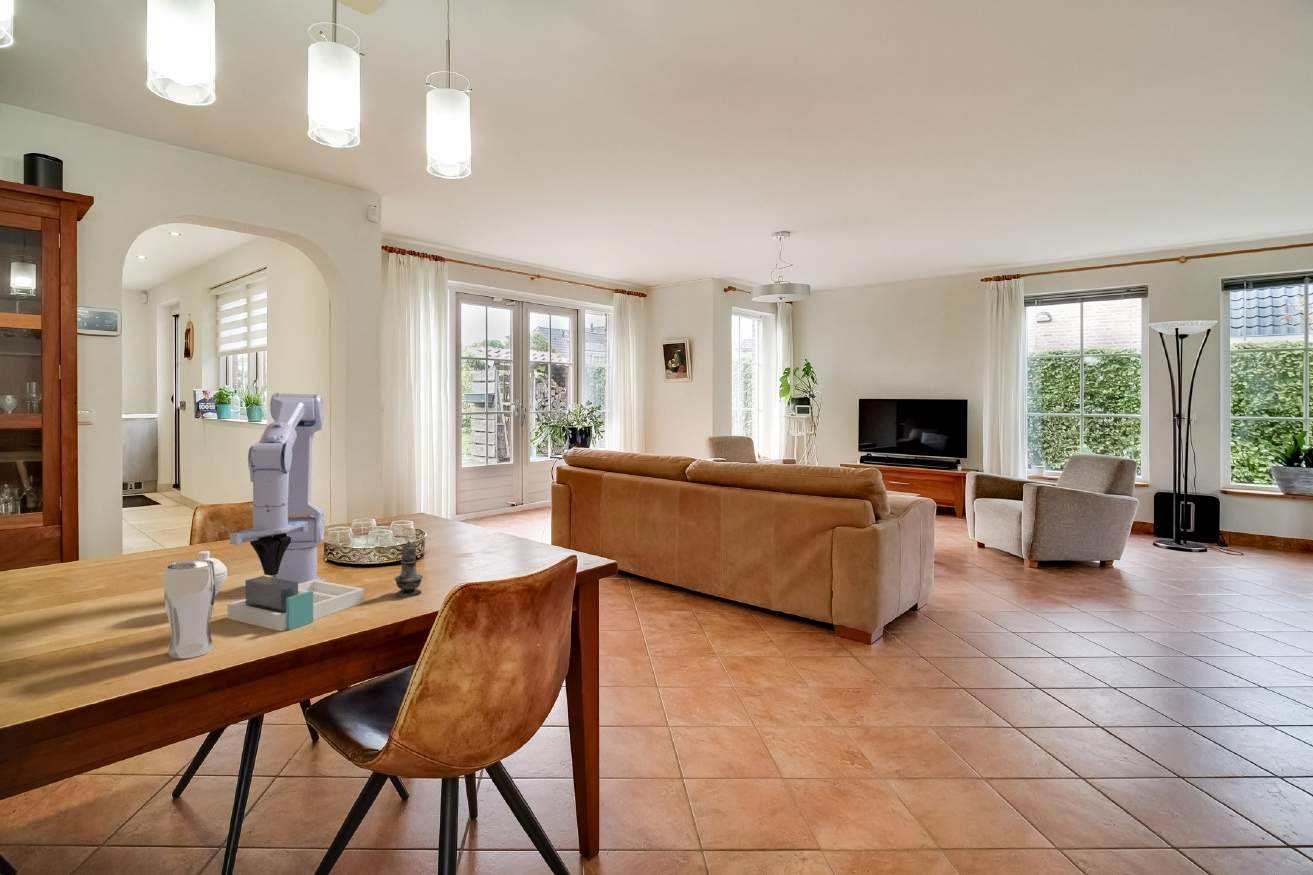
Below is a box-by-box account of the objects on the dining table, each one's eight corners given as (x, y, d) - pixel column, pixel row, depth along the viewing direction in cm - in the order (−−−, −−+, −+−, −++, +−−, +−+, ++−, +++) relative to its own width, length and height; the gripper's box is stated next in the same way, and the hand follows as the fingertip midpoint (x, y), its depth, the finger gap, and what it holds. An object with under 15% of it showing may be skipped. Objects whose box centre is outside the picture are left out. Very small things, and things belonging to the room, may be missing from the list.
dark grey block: (245, 615, 123) (245, 580, 122) (263, 610, 126) (262, 575, 126) (281, 623, 119) (281, 587, 119) (298, 617, 122) (298, 582, 122)
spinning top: (236, 607, 129) (236, 549, 128) (198, 619, 122) (198, 557, 121) (210, 602, 131) (209, 545, 131) (171, 613, 124) (170, 553, 123)
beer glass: (182, 644, 109) (181, 559, 109) (225, 643, 110) (224, 559, 109) (154, 660, 102) (153, 570, 102) (199, 660, 103) (198, 570, 102)
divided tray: (227, 618, 122) (227, 588, 122) (314, 592, 140) (314, 565, 139) (284, 632, 116) (284, 600, 116) (367, 602, 134) (367, 575, 133)
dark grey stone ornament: (412, 598, 138) (413, 544, 137) (388, 596, 139) (389, 542, 138) (427, 590, 143) (428, 538, 143) (404, 588, 144) (404, 536, 144)
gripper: (247, 512, 113) (248, 586, 114) (318, 501, 126) (318, 568, 127) (221, 508, 116) (222, 581, 117) (293, 498, 129) (294, 563, 130)
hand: (271, 574), depth 122 cm, fingers closed
